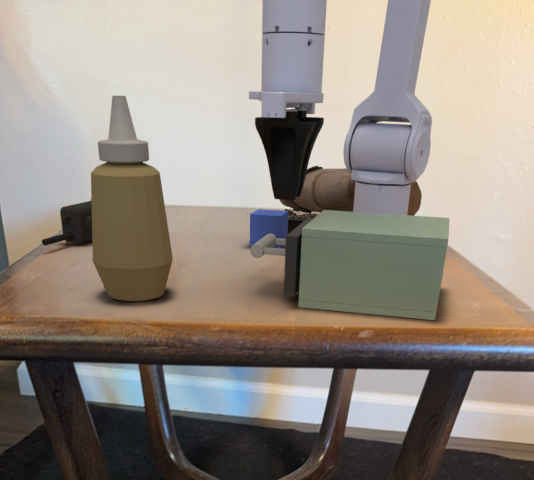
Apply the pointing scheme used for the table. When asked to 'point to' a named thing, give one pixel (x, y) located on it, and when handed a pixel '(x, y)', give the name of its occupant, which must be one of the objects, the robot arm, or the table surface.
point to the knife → (290, 212)
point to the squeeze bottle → (128, 214)
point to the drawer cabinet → (373, 263)
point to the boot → (336, 192)
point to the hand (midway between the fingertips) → (287, 197)
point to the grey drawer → (290, 253)
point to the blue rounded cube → (268, 225)
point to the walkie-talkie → (74, 224)
